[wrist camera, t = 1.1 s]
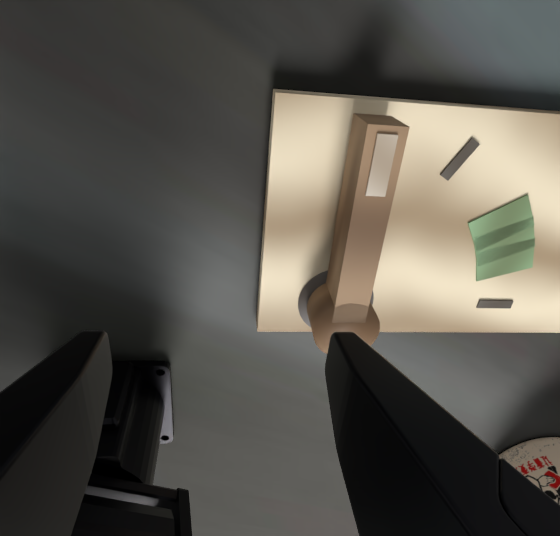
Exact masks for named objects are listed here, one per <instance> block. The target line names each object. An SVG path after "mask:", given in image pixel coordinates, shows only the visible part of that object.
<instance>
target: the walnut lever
mask: <svg viewBox="0 0 560 536" xmlns="http://www.w3.org/2000/svg"><path fill="white" fill-rule="evenodd" d="M409 128H410V127H409V126H407V125H406V124H404V123H402V122H401V121H399V120H397V119H396V118H394V117H392V116H387V115H373V114H360V113H353V119H352V126H351V132H350V138H349V144H348V150H347V156H346V163H345V169H344V175H343V181H342V187H341V193H340V199H339V206H338V212H337V218H336V224H335V230H334V236H333V242H332V249H331V255H330V261H329V267H328V273H327V279H326V283H325V284H323V285H321V286H320V287H318V288H317V289H316V290H315V291H314V292H313V293H312V294H311V296H310V298H309V300H308V303H307V314H308V318H309V321H310V325H311V329H312V333H313V336H314V340H315V343H316V345H317V346H318V348H319V349H320V350H321V351H323V352H324V353H326V354H327V353H328V348H329V342H330V337H331V335H332V333H334V332H354V333H355V334H357V335H358V336H359V337H360V338H362V339H363V340H364V341H365V342H366V343H367V344H369V345H370V346H371V345H372V344H373V342H374V341H375V340H376V338H377V336H378V334H379V331H380V321H379V318H378V316H377V314H376V312H375V310H374V308H373V306H372V304H371V302H370V299H371V295H372V291H373V286H374V282H375V277H376V273H377V269H378V264H379V260H380V256H381V251H382V247H383V242H384V238H385V234H386V229H387V225H388V220H389V216H390V212H391V207H392V203H393V198H394V194H395V190H396V185H397V181H398V176H399V172H400V168H401V163H402V159H403V154H404V150H405V146H406V141H407V137H408V132H409Z"/></svg>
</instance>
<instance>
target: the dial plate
mask: <svg viewBox="0 0 560 536" xmlns="http://www.w3.org/2000/svg"><path fill="white" fill-rule="evenodd" d="M353 113H360V114H373V115H387V116H392V117H394V118H396V119H397V120H399V121H401V122H402V123H404V124H406V125H407V126H409V127H410V128H409V132H408V137H407V141H406V146H405V150H404V154H403V159H402V163H401V168H400V172H399V176H398V181H397V185H396V190H395V194H394V198H393V203H392V207H391V212H390V216H389V220H388V225H387V229H386V234H385V238H384V242H383V247H382V251H381V256H380V260H379V264H378V269H377V273H376V277H375V282H374V286H373V291H372V295H371V299H370V302H371V304H372V306H373V308H374V310H375V312H376V314H377V316H378V318H379V321H380V331H379V332H554V333H560V111H550V110H537V109H524V108H511V107H499V106H486V105H473V104H460V103H448V102H435V101H422V100H409V99H396V98H384V97H371V96H358V95H345V94H333V93H320V92H307V91H294V90H281V89H273V97H272V111H271V125H270V139H269V152H268V166H267V180H266V194H265V207H264V221H263V235H262V249H261V262H260V276H259V290H258V304H257V317H256V322H257V332H312V329H311V325H310V321H309V318H308V314H307V303H308V300H309V298H310V296H311V294H312V293H313V292H314V291H315V290H316V289H317V288H318V287H320V286H321V285H323V284H325V283H326V279H327V273H328V267H329V261H330V255H331V249H332V242H333V236H334V230H335V224H336V218H337V212H338V206H339V199H340V193H341V187H342V181H343V175H344V169H345V163H346V156H347V150H348V144H349V138H350V132H351V126H352V119H353Z"/></svg>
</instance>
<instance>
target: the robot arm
mask: <svg viewBox="0 0 560 536" xmlns="http://www.w3.org/2000/svg"><path fill="white" fill-rule="evenodd" d="M158 369H163V370H164V371H159V370H158ZM325 376H326V383H327V390H328V397H329V403H330V410H331V417H332V424H333V430H334V437H335V443H336V449H337V453H338V458H339V462H340V466H341V469H342V473H343V477H344V480H345V484H346V488H347V492H348V495H349V499H350V503H351V507H352V510H353V514H354V518H355V521H356V525H357V529H358V533H359V536H560V505H559V504H558V503H557V502H556V501H554V500H553V499H552V498H551V497H549V496H548V495H547V494H546V493H545V492H543V491H542V490H541V489H540V488H538V487H537V486H536V485H535V484H533V483H532V482H531V481H530V480H529V479H527V478H526V477H525V476H524V475H522V474H521V473H520V472H519V471H518V470H517V469H515V468H514V467H513V466H512V465H511V464H509V463H508V462H507V461H506V460H505V459H503V458H500V459H499V455H498V454H497V453H496V452H495V451H494V450H493V449H492V448H490V447H489V446H488V445H487V444H486V443H484V442H483V441H482V440H481V439H480V438H479V437H477V436H476V435H475V434H474V433H473V432H471V431H470V430H469V429H468V428H467V427H466V426H464V425H463V424H462V423H461V422H460V421H458V420H457V419H456V418H455V417H454V416H453V415H451V414H450V413H449V412H448V411H447V410H445V409H444V408H443V407H442V406H441V405H440V404H438V403H437V402H436V401H435V400H434V399H432V398H431V397H430V396H429V395H428V394H427V393H425V392H424V391H423V390H422V389H421V388H419V387H418V386H417V385H416V384H415V383H414V382H412V381H411V380H410V379H409V378H408V377H406V376H405V375H404V374H403V373H402V372H401V371H399V370H398V369H397V368H396V367H395V366H393V365H392V364H391V363H390V362H389V361H388V360H386V359H385V358H384V357H383V356H382V355H380V354H379V353H378V352H377V351H376V350H375V349H373V348H372V347H371V346H370V345H369V344H367V343H366V342H365V341H364V340H363V339H362V338H360V337H359V336H358V335H357V334H355V333H354V332H334V333H332V335H331V337H330V342H329V348H328V353H327V359H326V364H325ZM173 435H174V425H173V406H172V387H171V367H170V365H169V364H168V363H167V362H165V361H112V359H111V352H110V345H109V338H108V334H107V333H106V332H105V331H103V330H85V331H81V332H79V333H78V334H77V335H75V336H74V337H73V338H71V339H70V340H69V341H67V342H66V343H65V344H63V345H62V346H61V347H59V348H58V349H57V350H55V351H54V352H53V353H51V354H50V355H49V356H48V357H46V358H45V359H44V360H42V361H41V362H40V363H38V364H37V365H36V366H34V367H33V368H32V369H30V370H29V371H28V372H26V373H25V374H24V375H22V376H21V377H20V378H18V379H17V380H16V381H14V382H13V383H12V384H10V385H9V386H8V387H7V388H5V389H4V390H3V391H1V392H0V536H192V529H191V516H190V503H189V491H188V490H185V489H180V488H177V490H175V489H170V488H165V487H160V486H155V485H153V480H154V474H155V467H156V461H157V455H158V449H159V444H161V443H169V442H171V441H172V440H173Z"/></svg>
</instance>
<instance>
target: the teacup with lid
mask: <svg viewBox="0 0 560 536" xmlns="http://www.w3.org/2000/svg"><path fill="white" fill-rule="evenodd" d="M500 458H503V459H505V460H506V461H507V462H508V463H509V464H511V465H512V466H513V467H514V468H515V469H517V470H518V471H519V472H520V473H521V474H522V475H524V476H525V477H526V478H527V479H529V480H530V481H531V482H532V483H533V484H535V485H536V486H537V487H538V488H540V489H541V490H542V491H543V492H545V493H546V494H547V495H548V496H549V497H551V498H552V499H553V500H554V501H556V502H557V503H558V504H559V505H560V438H559V437H545V438H538V439H533V440H529V441H526V442H523V443H520V444H518V445H515V446H513V447H511V448H509V449H508V450H506V451H504V452H503V453H501V454H500V455H499V459H500Z"/></svg>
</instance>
